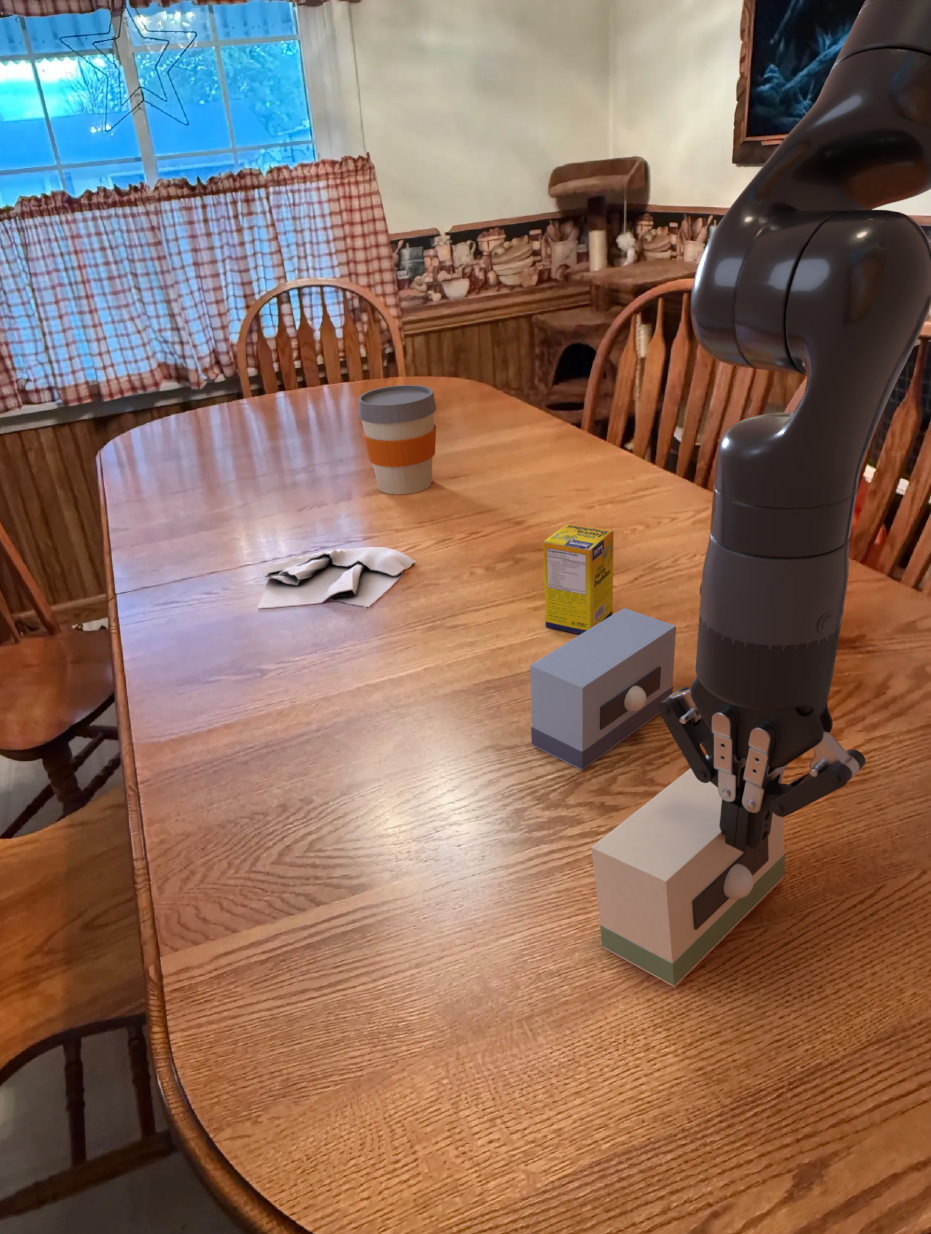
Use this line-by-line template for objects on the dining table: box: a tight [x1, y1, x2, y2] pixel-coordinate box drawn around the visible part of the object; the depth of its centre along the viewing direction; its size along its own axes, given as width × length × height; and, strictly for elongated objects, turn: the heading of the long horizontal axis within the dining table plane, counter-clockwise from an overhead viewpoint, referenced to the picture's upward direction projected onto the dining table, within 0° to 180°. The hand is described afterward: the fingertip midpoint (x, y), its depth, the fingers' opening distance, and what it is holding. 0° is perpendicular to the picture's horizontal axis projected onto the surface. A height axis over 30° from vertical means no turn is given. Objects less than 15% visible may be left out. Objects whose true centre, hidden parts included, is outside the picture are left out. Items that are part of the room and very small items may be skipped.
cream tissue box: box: [590, 754, 786, 988], centre depth 63 cm, size 14×8×9 cm, turn 132°
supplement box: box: [542, 522, 614, 635], centre depth 102 cm, size 6×6×11 cm
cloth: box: [257, 546, 417, 610], centre depth 121 cm, size 20×22×2 cm
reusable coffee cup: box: [358, 384, 437, 495], centre depth 147 cm, size 13×13×15 cm
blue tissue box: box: [529, 607, 677, 771], centre depth 84 cm, size 14×8×9 cm, turn 133°
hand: (742, 842), depth 59 cm, fingers closed
